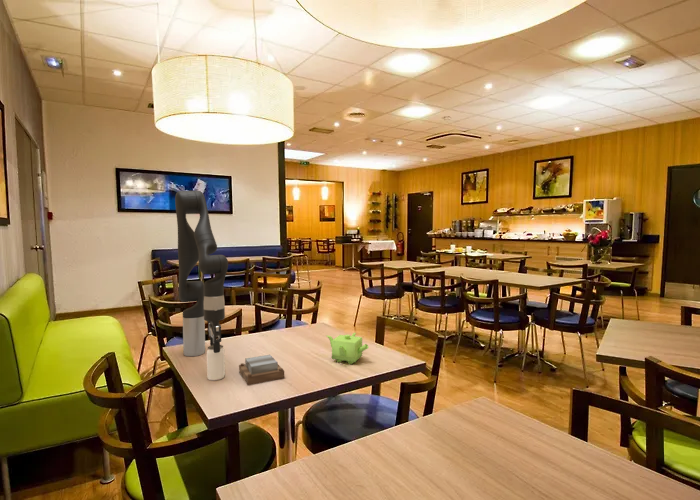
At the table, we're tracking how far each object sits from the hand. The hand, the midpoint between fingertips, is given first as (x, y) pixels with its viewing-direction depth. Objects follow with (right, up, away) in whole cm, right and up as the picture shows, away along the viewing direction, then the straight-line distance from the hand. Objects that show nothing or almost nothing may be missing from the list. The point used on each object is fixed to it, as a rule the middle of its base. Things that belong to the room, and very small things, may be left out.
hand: (215, 349), depth 146 cm
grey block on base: (+17, -11, +3) cm, 21 cm away
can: (0, -11, +1) cm, 11 cm away
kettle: (+50, -10, +21) cm, 56 cm away
